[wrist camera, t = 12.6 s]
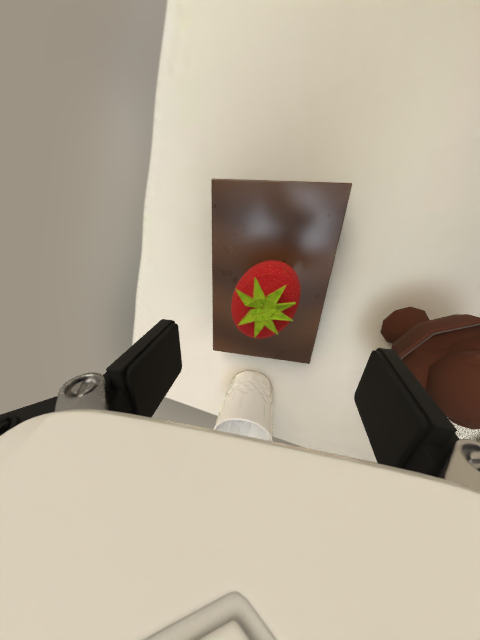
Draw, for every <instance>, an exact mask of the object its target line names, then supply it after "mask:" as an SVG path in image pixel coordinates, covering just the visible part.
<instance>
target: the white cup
mask: <svg viewBox="0 0 480 640" xmlns="http://www.w3.org/2000/svg"><path fill="white" fill-rule="evenodd" d="M271 396H272V388H271V385H270V382H269V380H268V379H267V378H266V377H265V376H264V375H263V374H260V373H258V372H255V371H243V372H241V373H238V374H237V375H236V376H235V377H234V378H233V380H232V382H231V385H230V388H229V390H228V392H227V394H226V397H225V400H224V402H223V404H222V407H221V410H220V413H219V415H218V418H217V421H216V424H215V427H214V429H213V430H218V431H223V432H228V433H233V434H238V435H243V436H248V437H253V438H258V439H263V440H268V441H273V411H272V397H271Z"/></svg>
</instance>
